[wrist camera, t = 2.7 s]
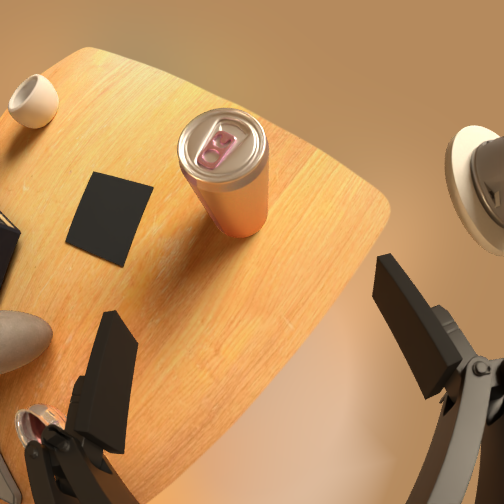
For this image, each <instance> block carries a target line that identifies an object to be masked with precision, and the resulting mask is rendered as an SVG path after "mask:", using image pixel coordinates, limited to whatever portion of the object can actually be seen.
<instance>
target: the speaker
mask: <svg viewBox="0 0 504 504" xmlns="http://www.w3.org/2000/svg"><path fill="white" fill-rule="evenodd" d="M20 234H21V232H20V230H19V229H18V228H17V227H16V226H14V225H13V224H12V223H11V222H10V221H9V219H8V218H7V217H6V216H5V215H4V214H3V213H2V212H1V211H0V288H1V285H2V282H3V279H4V276H5V273H6V270H7V267H8V264H9V262H10V259H11V256H12V254H13V251H14V249H15V246H16V244H17V241H18V239H19V236H20Z"/></svg>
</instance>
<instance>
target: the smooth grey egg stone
mask: <svg viewBox="0 0 504 504" xmlns="http://www.w3.org/2000/svg"><path fill="white" fill-rule="evenodd" d="M52 337H53V332H52V329H51V327H50V325H49V324H48V323H47V322H46V321H44V320H43V319H41V318H39V317H37V316H34V315H31V314H28V313H24V312H18V311H7V310H0V374H3V373H7V372H10V371H12V370H15V369H18V368H20V367H22V366H24V365H26V364H28V363H30V362H31V361H33V360H34V359H36V358H37V357H39V356H40V355H41V354H42V353H43V352H44V351H45V350H46V349H47V347H48V346H49V344H50V343H51V340H52Z"/></svg>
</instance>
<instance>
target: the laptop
mask: <svg viewBox="0 0 504 504" xmlns="http://www.w3.org/2000/svg"><path fill="white" fill-rule="evenodd" d="M21 497H22V496H21V494H20V491H19V489H18V487H17V486H16V484H15V482H14V480H13V478H12V476H11V474H10V473H9V471H8V469H7V467H6V465H5V463H4V461H3V458H2V456H1V454H0V499H2V500H3V501H5V502H7V503H9V504H21Z"/></svg>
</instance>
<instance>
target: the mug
mask: <svg viewBox="0 0 504 504" xmlns="http://www.w3.org/2000/svg"><path fill="white" fill-rule="evenodd" d="M58 106H59V99H58V95H57V92H56V90H55V88H54V87H53V85H52V84H51V83H50V82H49V81H48V80H47V79H46V78H45V77H43V76H42V75H38V74H35V75H32V76H30V77H29V78H27V79H26V80H25V81H24V82H23V83H22V84H21V85H20V86H19V87H18V88H17V89H16V91H15V92H14V94H13V95H12V97H11V99H10V101H9V104H8V110H9V113H10V115H11V116H12V117H13V118H14V119H15V120H16V121H17V122H19V123H20V124H22V125H24V126H26V127H29V128H35V129H36V128H41V127H43V126H45V125H46V124H47V123H49V122H50V121H51V120H52V118H53V117H54V116H55V114H56V112H57V110H58Z"/></svg>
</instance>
